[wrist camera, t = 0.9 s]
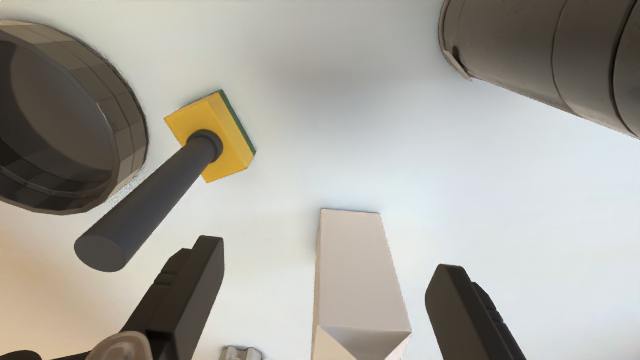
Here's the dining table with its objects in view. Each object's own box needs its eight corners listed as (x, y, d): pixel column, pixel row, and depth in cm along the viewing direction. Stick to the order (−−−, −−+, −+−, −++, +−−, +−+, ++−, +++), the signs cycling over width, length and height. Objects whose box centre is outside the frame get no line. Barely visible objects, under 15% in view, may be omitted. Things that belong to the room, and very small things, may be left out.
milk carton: (315, 251, 37) (306, 436, 21) (320, 207, 34) (315, 385, 17) (369, 256, 38) (403, 443, 21) (380, 212, 34) (430, 394, 18)
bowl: (-46, -19, 24) (-130, -28, 19) (163, 77, 27) (132, 88, 23) (-26, 151, 31) (-82, 173, 27) (135, 210, 35) (108, 237, 30)
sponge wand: (183, 106, 28) (4, 212, 13) (221, 89, 28) (81, 180, 12) (220, 165, 32) (113, 309, 16) (256, 151, 31) (181, 290, 15)
